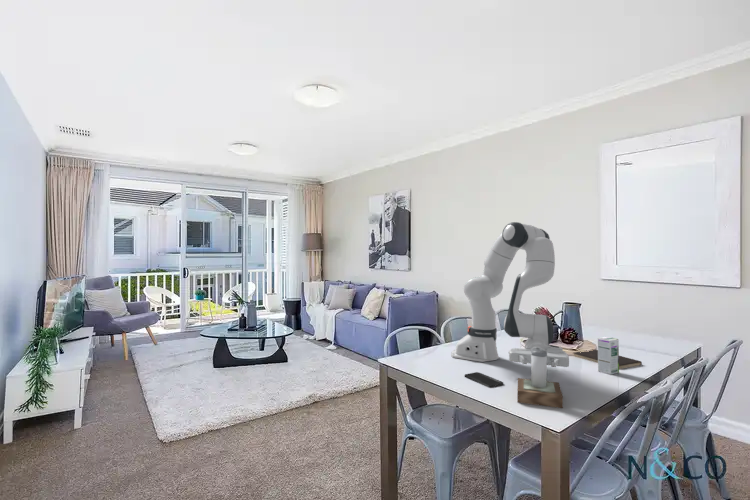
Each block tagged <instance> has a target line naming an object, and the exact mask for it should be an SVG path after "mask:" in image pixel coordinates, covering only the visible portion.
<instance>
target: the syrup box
mask: <svg viewBox="0 0 750 500" xmlns="http://www.w3.org/2000/svg"><path fill="white" fill-rule="evenodd" d="M619 341H620V340H619V339H618V338H616V337H610V336H603V337H598V338H597V350H598V363H597V372H600V373H602V374H606V375H610V376H611V375H613V374H614V375H615V374H619V373H620V369H619V356H620V352H619V350H620V349H619V348H620V346H619V344H620V342H619Z"/></svg>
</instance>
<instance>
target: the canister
mask: <svg viewBox="0 0 750 500" xmlns="http://www.w3.org/2000/svg"><path fill="white" fill-rule="evenodd" d="M530 364H531V365H530V366H531V367H530V368H531V370H530V371H531V373H530V374H531V375H530V376H531V377H530V379H531V385H532V386H534V387H538V388H545V387H547V381H548V380H547V379H548V378H547V375H548V373H547V372H548V371H547V369H548V367H547V366H548V365H547V351H544V350H537V349H535V350H531V363H530Z"/></svg>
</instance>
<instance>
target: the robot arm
mask: <svg viewBox="0 0 750 500" xmlns="http://www.w3.org/2000/svg"><path fill="white" fill-rule="evenodd" d="M519 250H523V251H525V253H526V258H525V266H524V269H523V271H522V272H521V273H519V274H518V275H517V276H516V278H515V282H514V286H513V290H512V292H511V298H510V301H509V302H510V303H509V306H508V309H507V313H506V315H505V317H504V321H503V329H504V332H505V333H506V334H507V335H508V336H509V337H511V338H527V339H526V340H525V344H524V348H516V347H513V348H511V349H510V350H508V354H509V355H508V359H509V360H508V361H510V362H512V363H520V364H521V363H522V365H527V364H531V350H535V349H537V350H544V351H547V366H551V367H552V368H556V367H563V368H569V366H570V357H569V355H568V353H567V352H566V351H564V350H563V346H562V347H561V346H557V345H553V344H551V343H552V342H553V341H554V333H555V332H554V324H553V321H552V320H551V318H550V317H549V316H548V315H546V314H545V315H544V314H537V313H535V314H533V313H524V312H523V313H522V312H520V311H519V310H520V306H521V302H522V297H523V294H524V292H526V291H527V290H529V289H531V288H535V287H538V286H542V285H544V284H546V283H548V282H550V281H551V280H552V279H553V277H554V275H555V266H556V265H555V264H556V263H555V262H556V261H555V260H556V258H555V247H554V244H553V242H552V240H551V238H550V235H549V234H548V232H547V231H546V230H544V229H542V228H539V227H536V226H534V225H531V224H526V223H521V222H517V221H516V222H515V221H514V222H509V223H507V224H506V225H505V226H504V227H503V230H502V232H501V233H500V234H499V235H498V236H497V238H496V239H495V241H494V242H493V244H492V246H491V248H490V249H489V251H488V253H487V255H486V257H485V259H484V262H483V265H484V268H483V272H482V274H481V275H480V276H477V277H476V276H475V277H473V278H471V279H469V280H467V281H466V282H465V284H463V292H464V295H465V296H466V297H467V299H468V300H469V305H470V309H471V310H470V311H471V325H468V326H467V334H466V335H464V336H463V337H461V339H459V340H458V342H457V343H456V345H455V349H453V350H452V351H451V353H450V356H451V357H452V358H453V359H455V358H456V359H461V360H467V361H473V362H480V363H484V362H489V361H491V362H492V361H496V360H499V359H500V356H499V353H498V347H497V335H498V331H497V327H496V311H495V309H494V307H493V305H492V300H491V299H494V298H496V297H497V296H499V295H501V293H502V291H503V289H504V287H503V286H504V285H503V282H504V279H505V276H506V273H507V272H508V269H509V268H510V265H511V263H512V262H513V260H514V258H515V256H516V254H517V253H518V251H519Z"/></svg>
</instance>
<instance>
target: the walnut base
mask: <svg viewBox="0 0 750 500" xmlns="http://www.w3.org/2000/svg"><path fill="white" fill-rule="evenodd" d="M563 397H564V396H563V392H562V389H561V386H560V382H559V381H558V382H555V381H548V380H547V387H545V388H538V387H534V386H532V385H531V378H520V377H518V378H517V397H516V398H517V403H521V404H526V405H527V404H529V405H536V406H542V407H549V406H550V408H557V407H558V408H557V409H563V408H564V407H563V405H564V404H563V403H564V402H563V399H564V398H563Z"/></svg>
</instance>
